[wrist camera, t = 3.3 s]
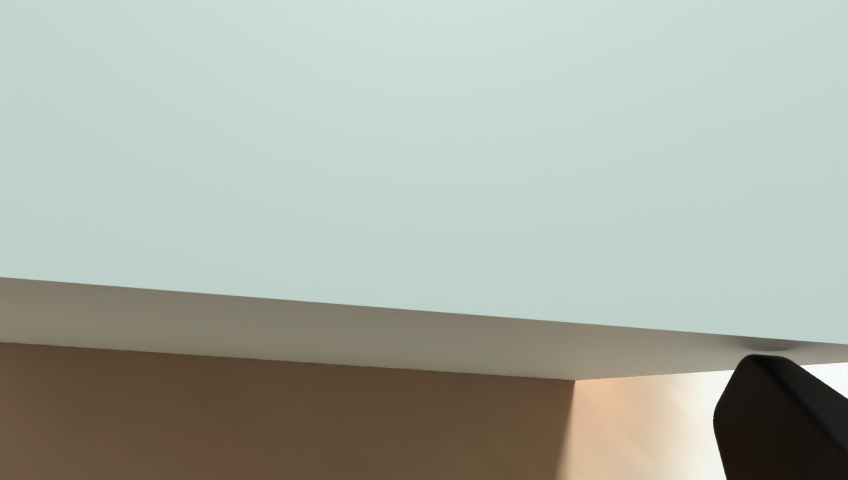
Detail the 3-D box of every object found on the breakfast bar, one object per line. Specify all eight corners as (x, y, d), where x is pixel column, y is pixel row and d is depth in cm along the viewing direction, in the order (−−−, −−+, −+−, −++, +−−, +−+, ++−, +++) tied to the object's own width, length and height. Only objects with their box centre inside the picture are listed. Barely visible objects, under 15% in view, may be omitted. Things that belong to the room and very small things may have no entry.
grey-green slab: (574, 380, 17) (968, 353, 7) (-14, 340, 15) (-564, 232, 5) (576, 225, 18) (935, 12, 8) (17, 168, 16) (-412, -206, 6)
